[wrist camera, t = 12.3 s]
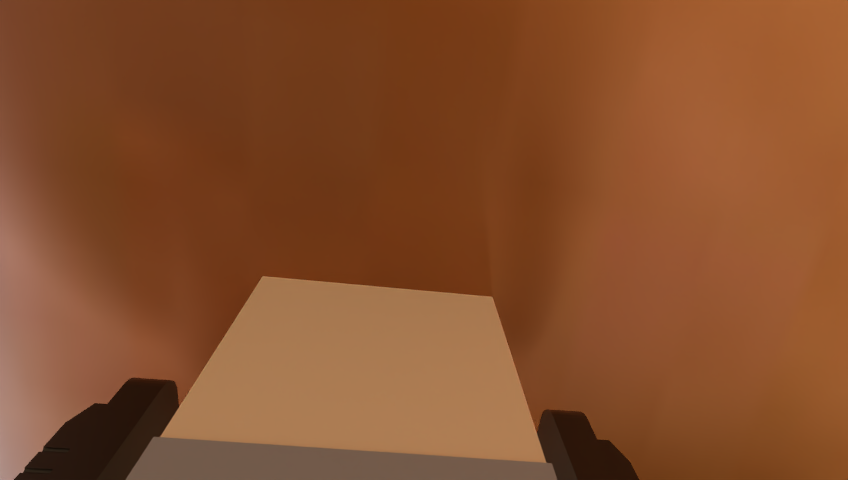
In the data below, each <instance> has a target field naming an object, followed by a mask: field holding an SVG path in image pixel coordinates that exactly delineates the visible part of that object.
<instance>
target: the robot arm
mask: <svg viewBox="0 0 848 480" xmlns="http://www.w3.org/2000/svg"><path fill="white" fill-rule="evenodd" d="M178 408H179V404H178V393H177V386H176V384H175V382H174V381H171V380H157V379H144V378H131V379H129V380H128V381H127V382H126V383H125V384H124V385H123V386H122V387H121V388H120V390H119V391H118V392H117V393H116V394H115V396H114V397H113V398H112V399H111V400H110V402H109V403H108V404H97V403H95V404H93V405H92V406H90V407H89V408H87V409H86V410H84V411H83V412H81V413H80V414H78V415H76V416H75V417H73V418H72V419H70V420H69V421H67V422H66V423H65V424H64V425H63V426H62V427H61V428H60V429H59V430H58V431H57V433H56V434H55V435H54V436H53V437H52V438H51V439H50V440H49V441H48V442H47V444H46V445H45V446H44V448H43V451H42V452H38V454H37V455H36V456H35V457H34V458H33V459H32V460H31V461H30V462H29V464H28V465H27V466H26V467H25V470H24V472H23V473H19V475H18V476H17V477H16V478H15V479H14V480H126V478H127V477H128V475H129V474H130V472H131V471H132V469H133V468H134V466H135V464H136V463H137V461H138V460H139V458H140V457H141V455H142V454H143V452H144V451H145V449H146V448H147V446H148V445H149V443H150V442H151V440H152V438H153V437H160V436H161V435H162V433H163V432H164V430H165V428H166V427H167V425H168V424H169V422H170V421H171V419H172V417H173V416H174V414H175V413H176V411H177V410H178ZM537 435H538V439H539V442H540V445H541V448H542V451H543V454H544V457H545V460H546V463H552V465H553V468H554V471H555V474H556V477H557V480H639V479H638V477H637V475H636V473H635V471H634V469H633V467H632V465H631V463H630V462H629V461H628V460H627V459H626V458H625V456H624V455H623V454H622V453H621V452H620V451H619V450H618V449H617V448H616V447H615V446H614V445H613V444H612V443H611V442H610V441H609V440H597V438H596V436H595V434H594V432H593V430H592V428H591V426H590V423H589V421H588V419H587V417H586V416H585V414H584V413H582V412H575V411H562V410H548V409H547V410H545V411H544V412H543V414H542V417H541V420H540V424H539V428H538V431H537Z"/></svg>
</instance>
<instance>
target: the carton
mask: <svg viewBox="0 0 848 480" xmlns="http://www.w3.org/2000/svg"><path fill="white" fill-rule="evenodd" d="M126 480H557V477H556V474H555V471H554V468H553V465H552V463H546V460H545V457H544V454H543V451H542V448H541V445H540V442H539V439H538V435H537V432H536V429H535V426H534V423H533V420H532V417H531V414H530V411H529V408H528V405H527V402H526V398H525V395H524V392H523V389H522V386H521V383H520V380H519V377H518V374H517V371H516V368H515V365H514V361H513V358H512V355H511V352H510V349H509V346H508V343H507V340H506V337H505V334H504V331H503V328H502V324H501V321H500V318H499V315H498V312H497V309H496V306H495V303H494V300H493V297H490V296H479V295H468V294H456V293H445V292H434V291H423V290H412V289H401V288H390V287H378V286H367V285H356V284H345V283H334V282H323V281H312V280H300V279H289V278H278V277H267V276H262V278H261V279H260V281H259V282H258V284H257V286H256V287H255V289H254V290H253V292H252V293H251V295H250V297H249V298H248V300H247V301H246V303H245V304H244V306H243V308H242V309H241V311H240V312H239V314H238V315H237V317H236V319H235V320H234V322H233V323H232V325H231V326H230V328H229V330H228V331H227V333H226V334H225V336H224V337H223V339H222V341H221V342H220V344H219V345H218V347H217V348H216V350H215V352H214V353H213V355H212V356H211V358H210V359H209V361H208V363H207V364H206V366H205V367H204V369H203V370H202V372H201V374H200V375H199V377H198V378H197V380H196V381H195V383H194V385H193V386H192V388H191V389H190V391H189V392H188V394H187V396H186V397H185V399H184V400H183V402H182V403H181V405H180V407H179V408H178V410H177V411H176V413H175V414H174V416H173V417H172V419H171V421H170V422H169V424H168V425H167V427H166V428H165V430H164V432H163V433H162V435H161V436H160V437H153V438H152V440H151V442H150V443H149V445H148V446H147V448H146V449H145V451H144V452H143V454H142V455H141V457H140V458H139V460H138V461H137V463H136V464H135V466H134V468H133V469H132V471H131V472H130V474H129V475H128V477H127V478H126Z"/></svg>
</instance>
